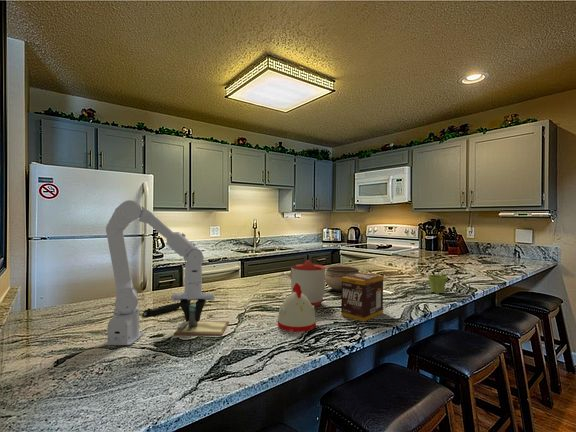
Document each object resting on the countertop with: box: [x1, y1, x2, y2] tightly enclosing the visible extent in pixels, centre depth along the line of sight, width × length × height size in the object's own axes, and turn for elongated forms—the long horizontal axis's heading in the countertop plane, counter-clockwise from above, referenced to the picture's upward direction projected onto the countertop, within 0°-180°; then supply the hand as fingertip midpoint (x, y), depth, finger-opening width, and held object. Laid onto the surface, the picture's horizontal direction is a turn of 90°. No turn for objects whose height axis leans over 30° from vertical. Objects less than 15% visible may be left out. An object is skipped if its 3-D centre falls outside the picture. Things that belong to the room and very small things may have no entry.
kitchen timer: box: [277, 283, 317, 332], centre depth 113 cm, size 14×14×15 cm
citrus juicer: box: [287, 259, 326, 308], centre depth 139 cm, size 16×17×20 cm
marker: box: [189, 304, 198, 327], centre depth 108 cm, size 3×3×7 cm
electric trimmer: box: [142, 302, 181, 318], centre depth 126 cm, size 4×15×3 cm, turn 139°
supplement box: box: [340, 272, 384, 322], centre depth 125 cm, size 10×15×16 cm
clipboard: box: [173, 320, 230, 337], centre depth 108 cm, size 12×16×1 cm
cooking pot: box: [325, 264, 360, 293], centre depth 164 cm, size 25×19×12 cm
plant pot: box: [427, 274, 448, 294], centre depth 162 cm, size 9×9×9 cm
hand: (193, 320), depth 108 cm, fingers closed on marker, 3 cm apart
